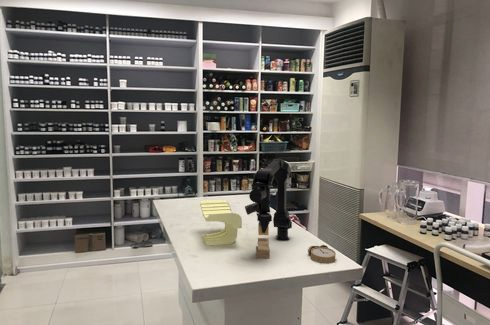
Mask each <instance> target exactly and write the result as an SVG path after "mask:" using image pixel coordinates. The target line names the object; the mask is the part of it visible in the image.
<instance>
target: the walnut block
mask: <svg viewBox="0 0 490 325" xmlns="http://www.w3.org/2000/svg"><path fill="white" fill-rule="evenodd" d="M270 255H271V252H270V248H269V250H258V245H256V246H255V258H256V259H257V260H265V259H266V260H269V259H270V258H271V256H270Z"/></svg>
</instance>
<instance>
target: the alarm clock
mask: <svg viewBox="0 0 490 325" xmlns="http://www.w3.org/2000/svg"><path fill="white" fill-rule="evenodd" d="M307 253H308V255H309V256H310V260H312V262H315V263H318V264H331V263H334V262H335V261H337V258H336V255H337V254H336V251H335V250H334V249H333V248H329V247H328V246H327V245H326V244H321V245H320V246H319V245H310V246H309V247H308V248H307Z"/></svg>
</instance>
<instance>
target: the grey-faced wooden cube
mask: <svg viewBox="0 0 490 325" xmlns="http://www.w3.org/2000/svg"><path fill="white" fill-rule="evenodd" d="M257 230H258V231H257V232H258V236H269V225H268V227H267V229H266V231H265V233H262V228H261V223H260V222H259V221H258V225H257Z"/></svg>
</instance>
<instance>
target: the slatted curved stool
mask: <svg viewBox="0 0 490 325" xmlns="http://www.w3.org/2000/svg"><path fill="white" fill-rule="evenodd" d="M199 204H200V209H201V213H202V217H203V218H204V220H205V222H219V223H224V228H223V229H222V230H220V231H218V232H213V233H203V234H202V239H203V241H204V244H205V245H206V246H214V245H217V246H218V245H227V244H228V245H230V244H233V243H235V241H236V240H237V238H238V229H242V228H243V226H242V224H243V220H242V216H241V215H240V214H239V213H234V212H232V209H231V206H230V204H229V202H228V201H227V200H225V199H215V200H214V199H211V200H209V199H208V200H200V201H199Z"/></svg>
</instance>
